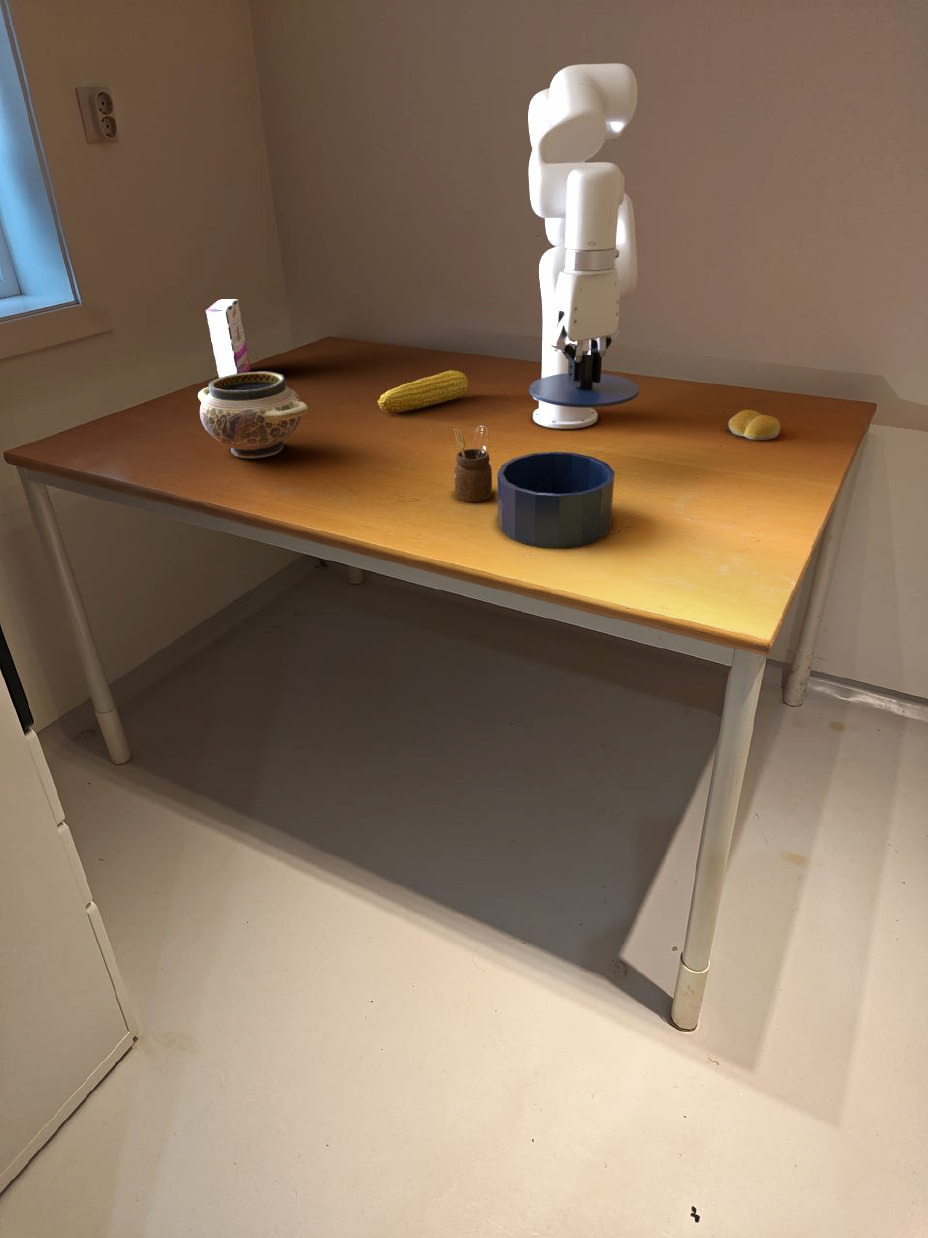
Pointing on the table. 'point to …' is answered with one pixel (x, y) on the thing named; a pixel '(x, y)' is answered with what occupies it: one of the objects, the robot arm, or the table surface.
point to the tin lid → (584, 388)
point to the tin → (555, 499)
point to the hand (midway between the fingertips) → (584, 381)
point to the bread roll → (754, 425)
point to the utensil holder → (472, 472)
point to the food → (424, 392)
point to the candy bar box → (228, 337)
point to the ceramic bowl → (251, 412)
